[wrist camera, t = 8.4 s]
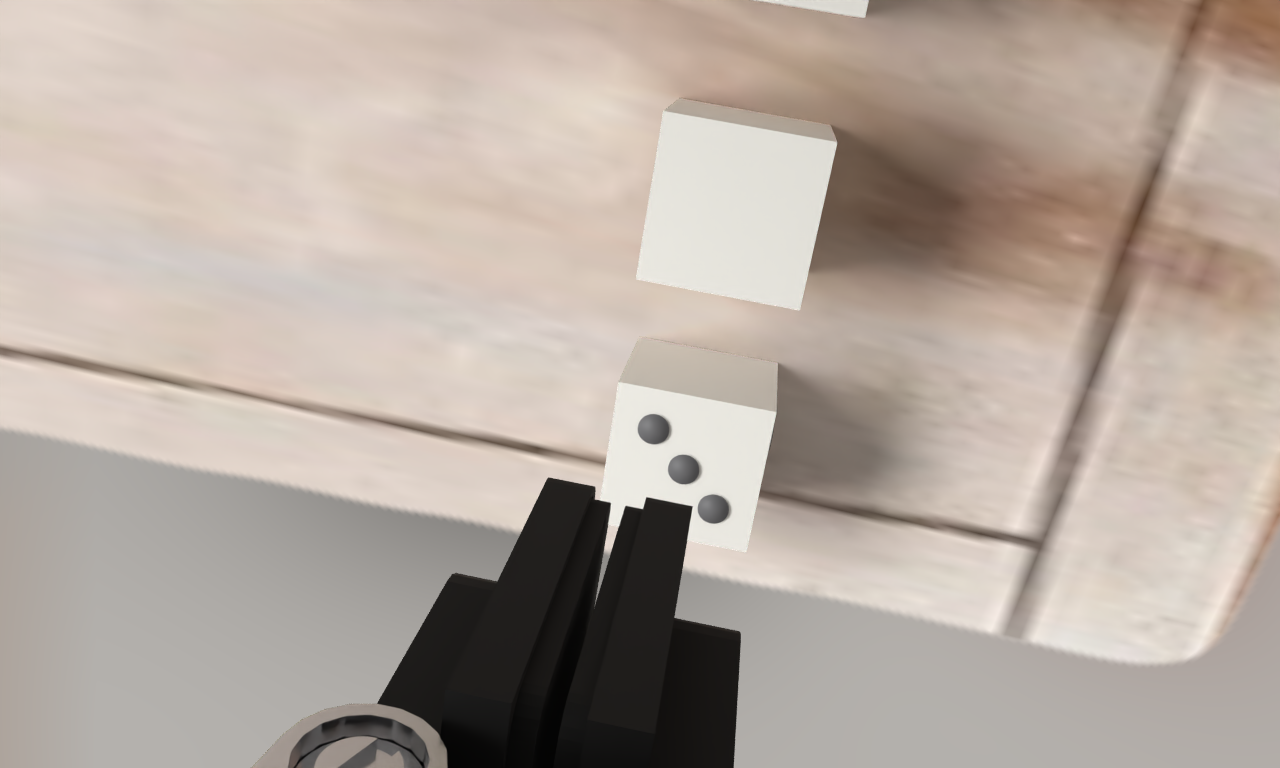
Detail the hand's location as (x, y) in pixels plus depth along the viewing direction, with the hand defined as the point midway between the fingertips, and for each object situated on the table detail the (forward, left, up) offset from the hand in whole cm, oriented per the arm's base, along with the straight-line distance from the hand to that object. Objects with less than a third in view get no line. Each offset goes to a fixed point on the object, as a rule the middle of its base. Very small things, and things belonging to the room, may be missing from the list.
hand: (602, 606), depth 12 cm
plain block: (0, 0, -32) cm, 32 cm away
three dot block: (+10, 0, -32) cm, 34 cm away
